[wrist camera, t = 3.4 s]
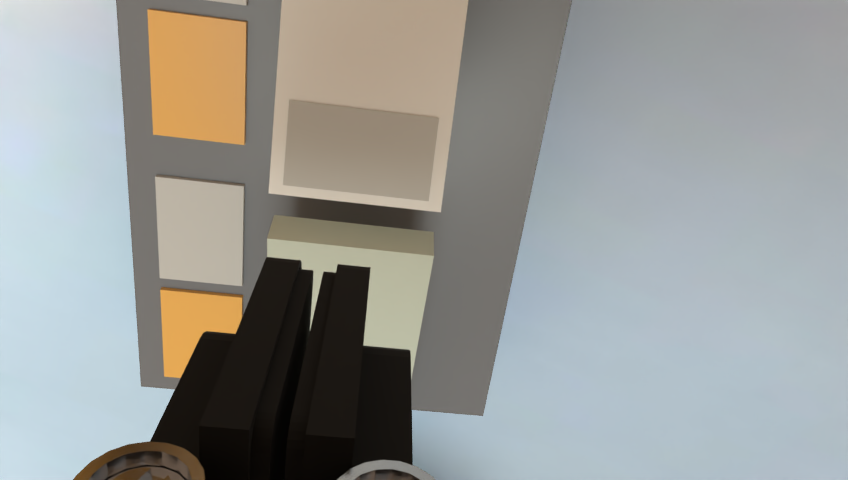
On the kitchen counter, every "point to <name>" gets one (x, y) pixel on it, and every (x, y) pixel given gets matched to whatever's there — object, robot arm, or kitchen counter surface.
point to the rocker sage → (368, 247)
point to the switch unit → (255, 207)
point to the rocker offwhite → (366, 100)
